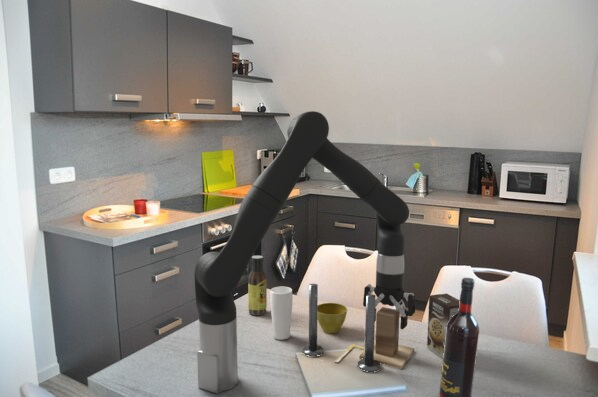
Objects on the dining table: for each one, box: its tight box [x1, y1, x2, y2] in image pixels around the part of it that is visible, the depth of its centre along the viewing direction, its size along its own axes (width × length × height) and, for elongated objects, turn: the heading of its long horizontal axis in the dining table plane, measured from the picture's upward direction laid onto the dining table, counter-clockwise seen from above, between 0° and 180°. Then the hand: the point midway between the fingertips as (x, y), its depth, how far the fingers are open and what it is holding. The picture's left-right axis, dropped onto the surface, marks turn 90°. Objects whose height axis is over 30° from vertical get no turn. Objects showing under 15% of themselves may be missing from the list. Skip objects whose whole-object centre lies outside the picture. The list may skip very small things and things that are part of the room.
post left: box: [302, 283, 324, 356], centre depth 135 cm, size 6×6×20 cm
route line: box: [345, 344, 365, 352], centre depth 135 cm, size 12×5×1 cm, turn 151°
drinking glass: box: [269, 285, 294, 341], centre depth 145 cm, size 7×7×15 cm
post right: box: [357, 293, 381, 373], centre depth 127 cm, size 6×6×20 cm
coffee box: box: [426, 293, 461, 360], centre depth 135 cm, size 9×6×16 cm
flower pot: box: [317, 302, 348, 334], centre depth 151 cm, size 10×10×7 cm
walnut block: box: [375, 306, 401, 358], centre depth 134 cm, size 5×5×12 cm
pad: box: [359, 338, 415, 370], centre depth 135 cm, size 12×12×1 cm
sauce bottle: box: [247, 255, 268, 316], centre depth 163 cm, size 6×6×20 cm
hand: (387, 325), depth 134 cm, fingers open, 8 cm apart
